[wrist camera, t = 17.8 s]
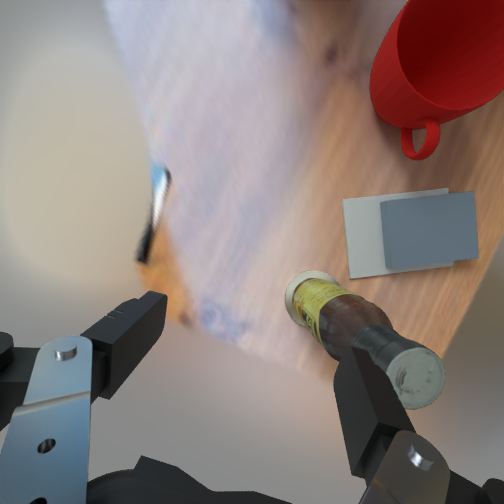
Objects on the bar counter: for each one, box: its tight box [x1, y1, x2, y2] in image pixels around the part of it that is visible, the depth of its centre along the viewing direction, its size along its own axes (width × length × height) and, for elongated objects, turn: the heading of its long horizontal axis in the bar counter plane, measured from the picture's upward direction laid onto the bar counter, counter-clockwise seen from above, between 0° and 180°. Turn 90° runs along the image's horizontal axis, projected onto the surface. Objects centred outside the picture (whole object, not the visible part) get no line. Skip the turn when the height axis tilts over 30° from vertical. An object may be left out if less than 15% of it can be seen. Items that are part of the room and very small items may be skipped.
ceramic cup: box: [370, 0, 504, 160], centre depth 30 cm, size 13×17×10 cm
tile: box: [380, 191, 479, 269], centre depth 35 cm, size 2×9×12 cm
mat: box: [342, 188, 454, 279], centre depth 36 cm, size 15×11×1 cm
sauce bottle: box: [292, 278, 446, 410], centre depth 25 cm, size 6×6×20 cm
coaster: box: [285, 270, 340, 327], centre depth 35 cm, size 8×8×1 cm
